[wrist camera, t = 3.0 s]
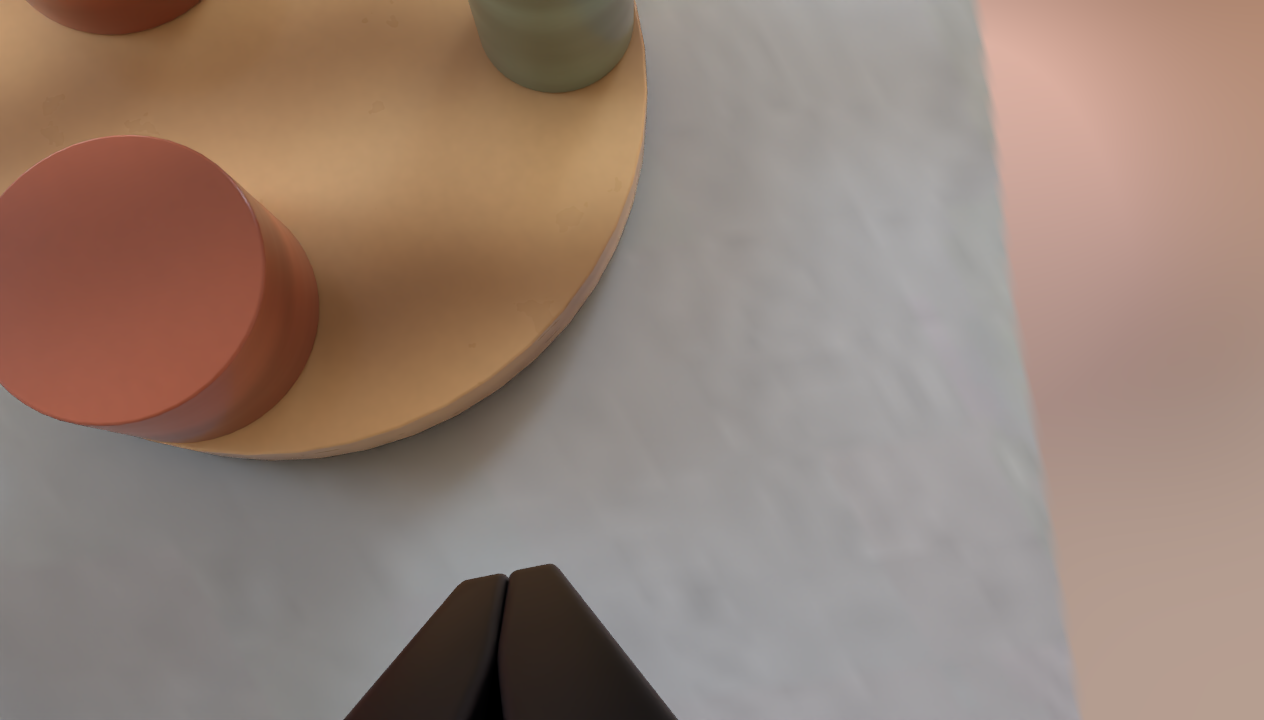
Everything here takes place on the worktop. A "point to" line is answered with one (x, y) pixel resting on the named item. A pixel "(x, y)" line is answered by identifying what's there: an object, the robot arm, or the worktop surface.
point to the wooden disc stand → (303, 208)
